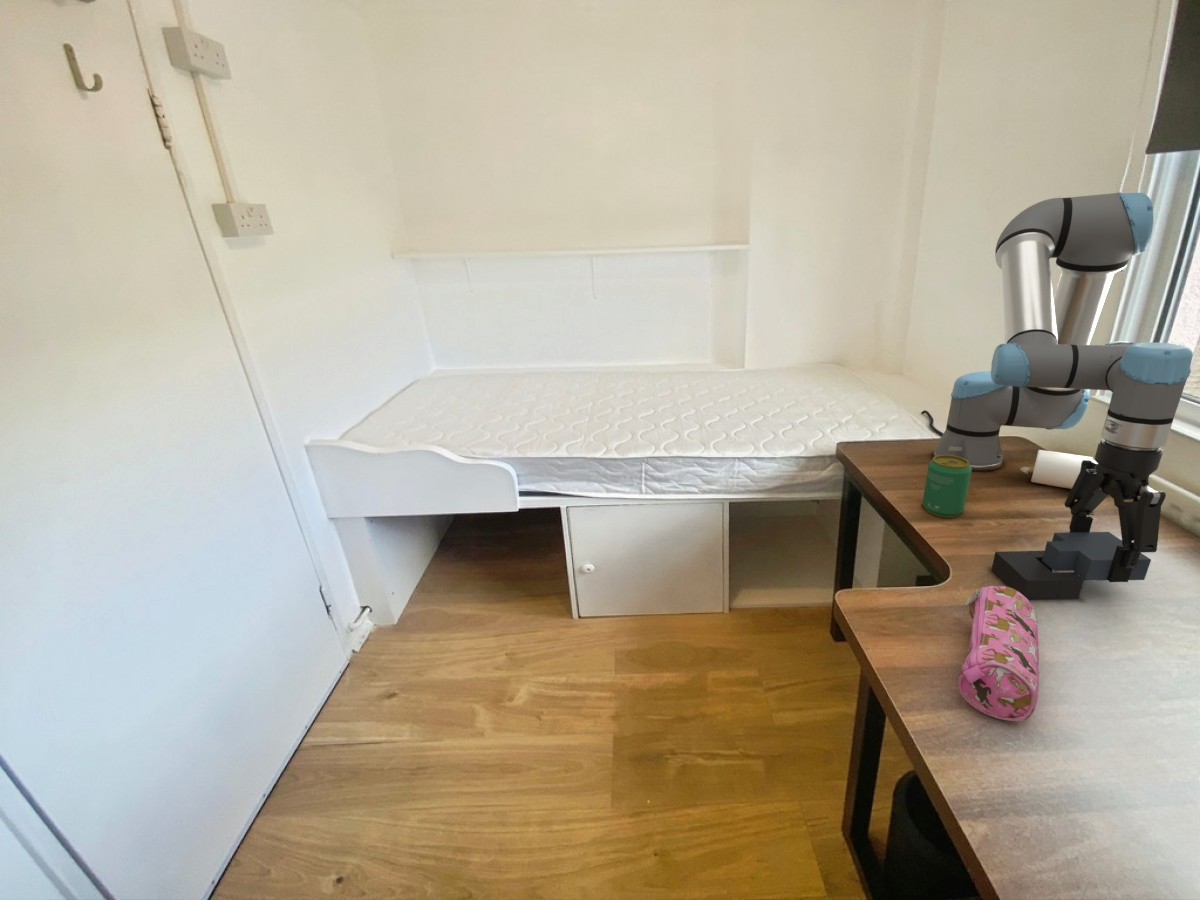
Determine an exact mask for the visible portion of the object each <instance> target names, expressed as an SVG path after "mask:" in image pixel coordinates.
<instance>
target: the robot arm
mask: <svg viewBox="0 0 1200 900" xmlns="http://www.w3.org/2000/svg"><path fill="white" fill-rule="evenodd" d="M1153 229H1154V207H1153V202H1152V200H1151V198H1150V197H1149V196H1148V195H1147V194H1146V193H1144V192H1119V191H1118V192H1114V193H1113V192H1111V193H1102V194H1092V195H1090V194H1089V195H1081V196H1069V197H1054V198H1053V197H1052V198H1048V199H1044V200H1041V201H1038V202H1036V203H1034V204H1032V205H1030V206H1028V207H1027V208H1025V209H1024V210H1022V211H1020V212H1019V213H1018V214H1017V215H1016V216H1015V217H1013V218H1012V219H1011V220H1010V221H1009V223H1008V224H1007V225H1006V226H1005V227H1004V229H1003V230H1002V232H1001V233H1000V235H999V237H998V239H997V242H996V245H995V255H994V256H995V263H996V266H997V267H998V268H999V269H1000V270H1001V278H1002V299H1003V300H1002V301H1003V321H1004V323H1003V324H1004V342H1005V343H1000V344H998V345H997V346H996V347H995V349H994V352H993V354H992V359H991V364H990V365H991V368H990V370H988V371H987V370H986V371H985V370H984V371H974V372H969V373H966V374H963V375H960V376H959V377H957V378H956V380H955V381H954V382H953V383H954V384H953V387H952V391H951V393H950V397H951V399H950V403H949V410H948V416H947V420H946V425H945V426H946V427H945V430H944V432H942V431H940V430H939V429H937V428H936V427H935V426H934V418H933V417H932V415H931V413H930V412H929V411H928V410H926V409H924V410H922V411H921V413H920V414H922V415H924V414H925V415H927V417H928V418H929V427H930V428H931V430H932V431H934V432H935V433H936V434H937V435H940V436H941V437H940V439H939V441H938V443H937V444H936V445H935V448H934V451H933V457H935V456H937V455H953V456H958V457H962V458H964V459H966V460H968V461H969V465H970V466H971V468H972V472H973V471H975V472H985V471H986V472H987V471H992V470H997V469H999V468H1000V467H1001V466H1002V464H1003V457H1004V456H1003V450H1002V445H1001V441H1000V431H1001V427H1002V426H1004V427H1005V426H1006V427H1018V428H1019V427H1020V428H1034V429H1035V428H1036V429H1045V430H1050V431H1051V430H1068V429H1071V428H1074V427H1075V426H1076V425H1077V424H1079V423H1080V422H1081V420H1082V419H1083V417H1084V416H1085V414H1086V411H1087V410H1088V407H1089V400H1090V398H1091V390H1092V391H1110V392H1112V393H1111V398H1110V401H1109V405H1108V409H1107V412H1106V417H1105V421H1104V424H1103V427H1102V431H1101V435H1100V436H1101V438H1102V439H1100V440H1099V441H1098V445H1097V448H1096V451H1095V455H1094V459H1093V460H1083V461H1082V463H1081V469H1080V473H1079V475H1078V477H1077V479H1076V481H1075V483H1074V485H1073V487H1072V489H1070V491H1069V493H1068V495H1067V497H1066V499H1065V501H1064V507H1065V508H1069V509H1070V514H1071V518H1070V519H1071V520H1070V521H1069V522H1070V523H1069V532H1091V529H1092V525H1093V521H1094V517H1092V516H1094V515H1095V513H1094V511H1095V510H1096V509H1097V508H1098V507H1099V506H1100V505H1101V504H1102V502H1103V501H1104V500H1105V499H1107V497H1108V496H1110V497H1111V498H1112V499H1113V503H1114V504H1113V505H1114V506H1115V507H1116V508H1117V509H1118V517H1119V527H1120V535H1121V540H1122V545H1123V546H1117V548H1116V551H1115V554H1114V557H1113V561H1112V564H1111V567H1110V570H1109V574H1108V577H1107V580H1106V581H1107V582H1109V583H1129V581H1130V580H1129V577H1130V574H1131V571H1132V568H1135V567H1136V565H1137V562H1138V559H1139V556H1140V553H1142V554H1143V553H1156V552H1157V551H1158V543H1159V542H1158V541H1159V532H1160V531H1159V530H1160V521H1161V510H1162V506H1163V503H1164V502H1165V499H1166V497H1167V495H1166V492H1165V491H1163V490H1155V489H1153V488H1152V487H1150V482H1149V481H1150V480H1149V477H1150V475H1152V474H1153V473H1154V472H1156V471H1157V470H1158V469H1159V466H1160V463H1161V460H1162V457H1163V453H1164V449H1163V447H1165V446H1166V444H1167V442H1168V439H1169V436H1170V432H1171V429H1172V426H1173V422H1174V418H1175V416H1176V414H1177V413H1176V412H1177V410H1178V407H1179V404H1180V400H1181V398H1182V395H1183V392H1184V389H1185V386H1186V383H1187V380H1188V378H1189V377H1190V375H1191V372H1192V370H1191V368H1192V363H1193V357H1194V352H1193V350H1192V349H1191V348H1189V347H1187V346H1185V345H1180V344H1179V345H1178V344H1175V343H1168V342H1154V341H1153V342H1152V341H1151V342H1146V341H1145V342H1133V341H1132V342H1131V341H1125V340H1116V341H1111V342H1108V343H1106V344H1090V343H1091V340H1092V338H1093V335H1094V332H1095V329H1096V327H1097V323H1098V320H1099V317H1100V315H1101V313H1102V309H1103V306H1104V303H1105V300H1106V297H1107V294H1108V292H1109V289H1110V286H1111V284H1112V281H1113V278H1114V275H1115V274H1116V273H1117V272H1120V271H1122V270H1124V269H1125V268H1126V267H1127V266H1128V264H1129V261H1130V258H1131V256H1134V257H1136V256H1138V255H1141V254H1143V253H1144V252H1146V250H1147V248H1148V246H1149V245H1150V242H1151V238H1152V234H1153ZM1050 259H1055V266H1056V267H1057V268H1058V269H1059V270H1060V272H1061V274H1060V276H1059V280H1058V283H1057V286H1056V289H1055V292H1054V291H1053V281H1052V273H1051V272H1052V271H1051V262H1050ZM1131 500H1132V501H1131Z"/></svg>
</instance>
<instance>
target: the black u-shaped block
mask: <svg viewBox="0 0 1200 900" xmlns="http://www.w3.org/2000/svg"><path fill="white" fill-rule="evenodd" d="M1044 551H1045V550H1013V551H1010V550H1007V551H1006V550H1005V551H994V557H993V560H992V566H991V572H993V573H994V574H995V575H996V576H997V577H998V578H999V579H1000V580H1001V581H1002V582H1003V583H1004V585H1006V587H1010V588H1012V589H1015V590H1017V591H1018V592H1020V593H1021V594H1022V595H1023V596H1025V597H1026V598H1027V599H1028V600H1029V601H1038V600H1040V601H1042V600H1043V601H1046V600H1047V601H1049V600H1052V601H1053V600H1056V601H1057V600H1079V598H1080V595H1081V593H1082V588H1083V585H1084V582H1085V580H1084V579H1083V578H1082V577H1080V576H1079V575H1078V574H1077V573H1075V572H1074V571H1054V570H1053V569H1051V568H1050V567H1049V566H1048V565H1047V564H1045V563H1044V562H1043V561H1042V559H1043V555H1044ZM1053 571H1054V572H1053Z"/></svg>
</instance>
